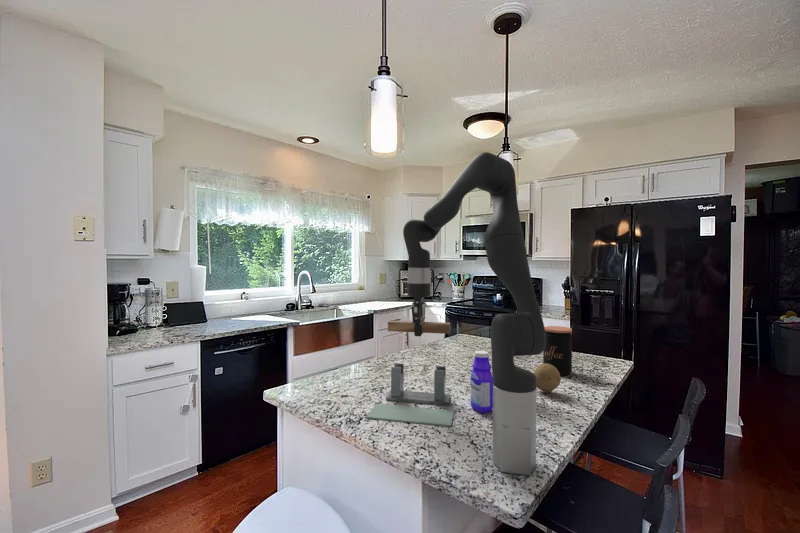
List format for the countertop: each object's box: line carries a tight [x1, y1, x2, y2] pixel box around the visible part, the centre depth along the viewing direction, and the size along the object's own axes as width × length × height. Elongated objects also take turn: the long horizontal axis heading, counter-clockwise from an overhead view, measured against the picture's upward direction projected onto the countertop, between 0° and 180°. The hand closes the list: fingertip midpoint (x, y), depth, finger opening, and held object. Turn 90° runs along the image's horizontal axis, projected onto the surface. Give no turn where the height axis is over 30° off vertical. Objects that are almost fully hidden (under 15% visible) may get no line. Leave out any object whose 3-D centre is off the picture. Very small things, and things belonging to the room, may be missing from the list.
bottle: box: [470, 350, 493, 414], centre depth 112 cm, size 7×6×17 cm
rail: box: [387, 320, 451, 335], centre depth 120 cm, size 3×20×3 cm, turn 78°
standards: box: [385, 362, 451, 406], centre depth 120 cm, size 7×20×10 cm, turn 78°
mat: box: [366, 403, 455, 427], centre depth 108 cm, size 10×24×1 cm, turn 78°
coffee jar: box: [542, 325, 573, 377], centre depth 150 cm, size 11×11×18 cm
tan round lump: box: [532, 363, 561, 394], centre depth 126 cm, size 9×9×10 cm
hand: (418, 334), depth 120 cm, fingers closed on rail, 3 cm apart
